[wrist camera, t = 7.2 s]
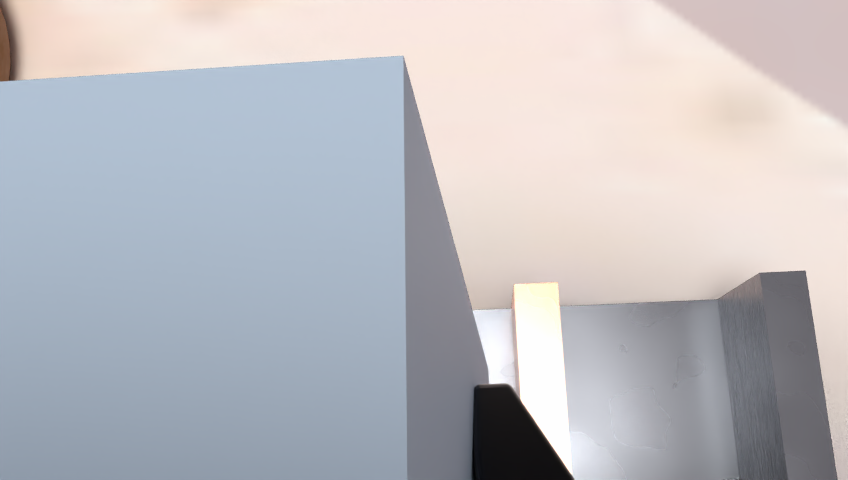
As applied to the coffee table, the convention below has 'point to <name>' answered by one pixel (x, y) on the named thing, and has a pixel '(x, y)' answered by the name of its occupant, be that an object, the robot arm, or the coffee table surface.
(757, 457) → the rack
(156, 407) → the blue-gray rectangular block
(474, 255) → the coffee table surface
